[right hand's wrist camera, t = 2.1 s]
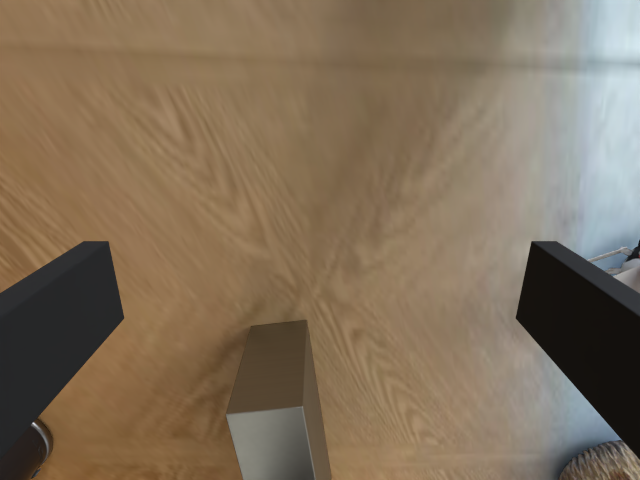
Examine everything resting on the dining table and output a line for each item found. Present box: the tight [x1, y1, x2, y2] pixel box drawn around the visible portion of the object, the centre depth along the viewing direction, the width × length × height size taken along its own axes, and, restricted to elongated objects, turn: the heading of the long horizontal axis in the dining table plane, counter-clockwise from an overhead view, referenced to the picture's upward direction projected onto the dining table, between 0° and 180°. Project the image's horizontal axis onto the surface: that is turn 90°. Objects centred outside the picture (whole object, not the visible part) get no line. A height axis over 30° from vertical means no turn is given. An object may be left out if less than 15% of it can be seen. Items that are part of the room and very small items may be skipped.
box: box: [226, 320, 331, 480], centre depth 40 cm, size 23×6×12 cm, turn 7°
